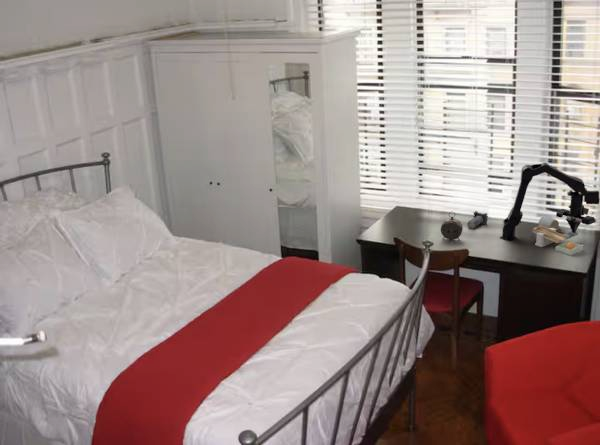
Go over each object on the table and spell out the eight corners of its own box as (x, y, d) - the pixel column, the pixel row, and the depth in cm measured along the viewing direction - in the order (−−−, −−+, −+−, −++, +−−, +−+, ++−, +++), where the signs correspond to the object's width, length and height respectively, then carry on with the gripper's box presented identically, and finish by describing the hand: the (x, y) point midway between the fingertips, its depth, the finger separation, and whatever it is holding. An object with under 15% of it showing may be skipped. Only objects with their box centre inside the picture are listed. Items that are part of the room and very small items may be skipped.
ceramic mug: (550, 234, 369) (551, 220, 367) (537, 230, 376) (538, 216, 373) (563, 229, 375) (564, 216, 372) (550, 225, 381) (551, 212, 379)
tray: (571, 255, 342) (571, 250, 341) (555, 250, 349) (555, 244, 348) (583, 250, 347) (583, 244, 346) (567, 245, 354) (567, 239, 353)
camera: (475, 223, 393) (465, 231, 385) (473, 210, 391) (462, 218, 383) (490, 224, 387) (479, 231, 379) (488, 211, 385) (477, 218, 377)
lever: (556, 248, 350) (558, 239, 347) (531, 237, 360) (532, 228, 358) (576, 239, 359) (578, 230, 357) (551, 228, 370) (553, 220, 368)
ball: (563, 248, 348) (570, 252, 345) (565, 241, 346) (572, 245, 343) (568, 246, 350) (575, 250, 347) (570, 239, 348) (577, 243, 345)
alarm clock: (462, 239, 368) (463, 210, 363) (461, 243, 364) (462, 214, 358) (441, 238, 372) (442, 209, 366) (439, 241, 367) (440, 212, 362)
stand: (541, 247, 353) (542, 235, 351) (535, 245, 357) (535, 233, 354) (556, 241, 360) (557, 229, 358) (549, 239, 363) (550, 227, 361)
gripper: (602, 204, 350) (599, 233, 355) (569, 196, 364) (567, 224, 369) (589, 209, 344) (587, 238, 349) (556, 200, 358) (554, 229, 363)
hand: (573, 232), depth 358 cm, fingers closed, pressing on lever
